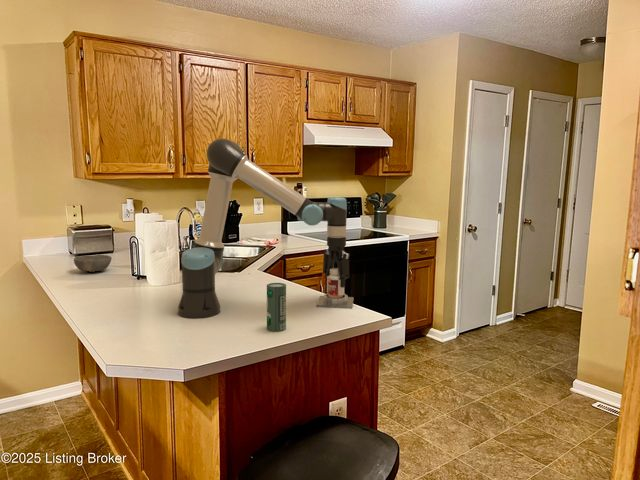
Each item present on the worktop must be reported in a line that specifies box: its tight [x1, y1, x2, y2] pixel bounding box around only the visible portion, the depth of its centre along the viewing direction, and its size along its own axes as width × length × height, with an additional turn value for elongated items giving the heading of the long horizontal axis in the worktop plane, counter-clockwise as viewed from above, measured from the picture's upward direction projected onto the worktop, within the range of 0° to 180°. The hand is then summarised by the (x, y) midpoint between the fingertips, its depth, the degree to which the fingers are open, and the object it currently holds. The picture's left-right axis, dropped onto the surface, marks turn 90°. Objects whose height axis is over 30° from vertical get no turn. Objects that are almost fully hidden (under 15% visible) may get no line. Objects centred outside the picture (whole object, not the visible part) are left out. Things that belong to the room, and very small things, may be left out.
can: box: [266, 282, 287, 333], centre depth 156 cm, size 6×6×15 cm
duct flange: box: [315, 292, 354, 310], centre depth 189 cm, size 14×14×3 cm
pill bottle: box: [327, 267, 343, 298], centre depth 188 cm, size 6×6×11 cm
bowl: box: [73, 254, 112, 273], centre depth 243 cm, size 18×18×8 cm
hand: (335, 293), depth 189 cm, fingers closed on pill bottle, 6 cm apart
